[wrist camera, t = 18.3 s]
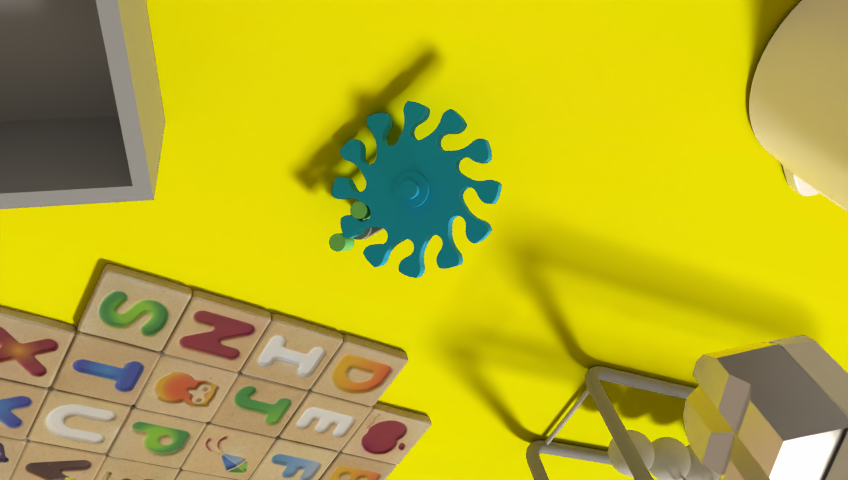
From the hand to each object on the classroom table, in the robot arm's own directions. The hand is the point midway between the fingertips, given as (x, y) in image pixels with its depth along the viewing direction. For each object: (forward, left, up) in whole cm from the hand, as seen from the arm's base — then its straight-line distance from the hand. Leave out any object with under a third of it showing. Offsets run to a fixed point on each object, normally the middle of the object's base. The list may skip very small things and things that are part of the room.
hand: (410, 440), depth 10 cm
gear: (-6, +15, -33) cm, 37 cm away
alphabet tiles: (+8, +38, -33) cm, 51 cm away
